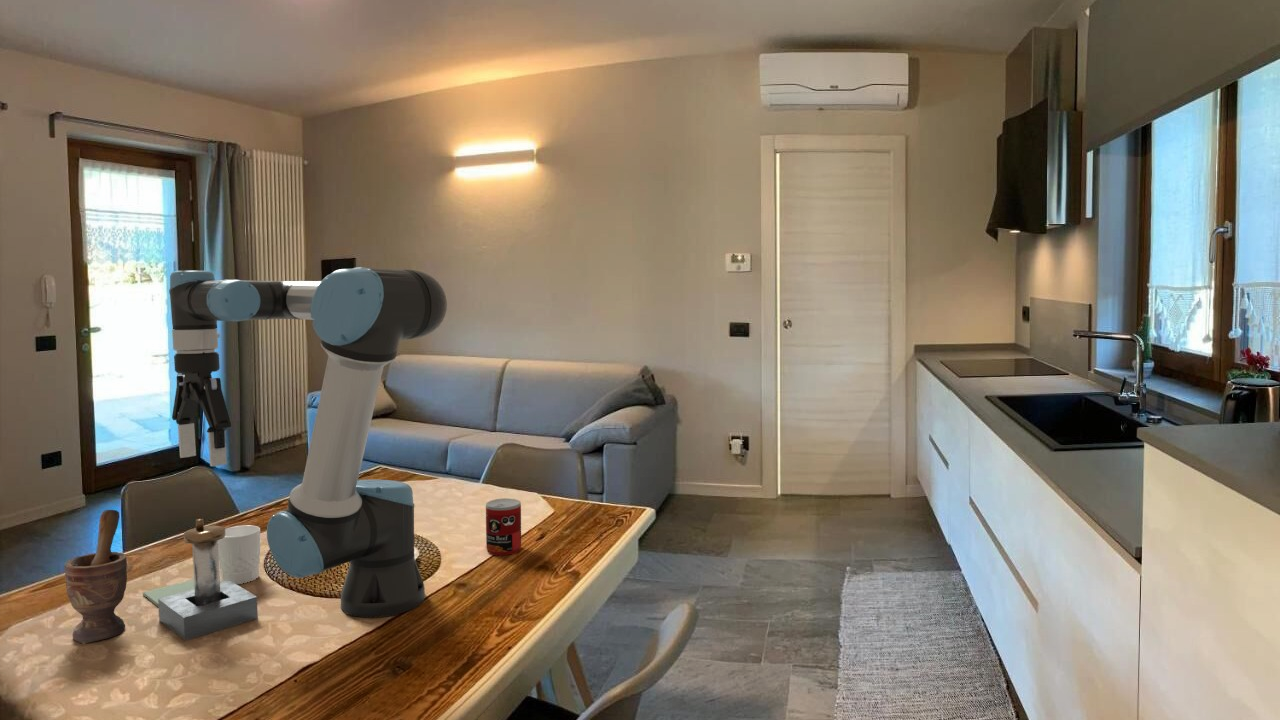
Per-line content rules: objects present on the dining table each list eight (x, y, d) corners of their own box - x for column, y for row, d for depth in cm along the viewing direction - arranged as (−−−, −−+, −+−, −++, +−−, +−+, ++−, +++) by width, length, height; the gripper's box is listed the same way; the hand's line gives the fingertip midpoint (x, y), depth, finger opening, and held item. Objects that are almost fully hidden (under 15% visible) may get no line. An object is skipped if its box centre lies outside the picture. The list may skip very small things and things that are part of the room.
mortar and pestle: (71, 623, 138) (64, 512, 136) (129, 612, 142) (124, 505, 140) (67, 649, 128) (60, 530, 126) (130, 636, 133) (124, 521, 131)
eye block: (257, 618, 140) (256, 596, 140) (184, 640, 131) (183, 617, 131) (230, 600, 148) (229, 580, 148) (159, 620, 139) (158, 598, 139)
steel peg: (235, 618, 140) (230, 521, 138) (196, 630, 135) (191, 530, 134) (220, 609, 144) (216, 514, 142) (182, 620, 139) (177, 522, 138)
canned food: (479, 553, 175) (478, 505, 174) (498, 542, 183) (498, 496, 182) (509, 558, 173) (508, 509, 171) (527, 547, 180) (527, 500, 179)
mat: (219, 593, 151) (219, 590, 151) (161, 609, 144) (161, 606, 144) (199, 580, 158) (199, 577, 158) (143, 595, 150) (142, 592, 150)
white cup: (244, 587, 154) (242, 538, 154) (209, 584, 156) (207, 535, 155) (270, 573, 162) (268, 526, 161) (237, 570, 164) (235, 524, 163)
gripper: (246, 352, 145) (252, 465, 147) (189, 348, 161) (195, 450, 162) (204, 355, 139) (210, 472, 141) (149, 350, 155) (155, 456, 156)
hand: (202, 460), depth 152 cm, fingers open, 13 cm apart
